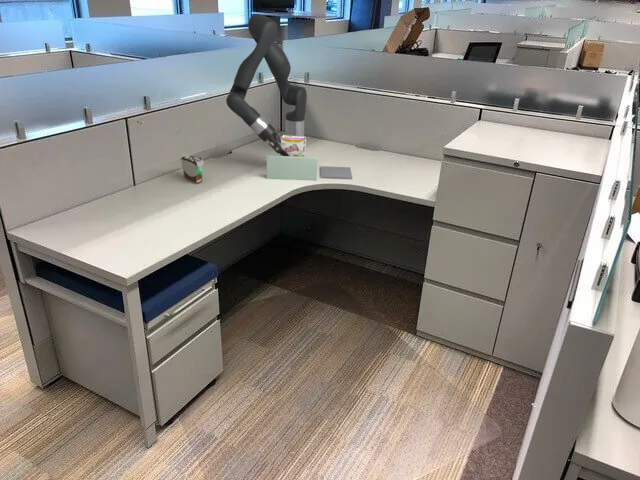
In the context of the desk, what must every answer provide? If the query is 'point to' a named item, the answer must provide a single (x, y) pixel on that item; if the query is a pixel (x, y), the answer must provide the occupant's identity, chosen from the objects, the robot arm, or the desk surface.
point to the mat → (336, 172)
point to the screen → (292, 167)
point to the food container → (192, 168)
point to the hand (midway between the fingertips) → (288, 154)
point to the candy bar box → (294, 145)
